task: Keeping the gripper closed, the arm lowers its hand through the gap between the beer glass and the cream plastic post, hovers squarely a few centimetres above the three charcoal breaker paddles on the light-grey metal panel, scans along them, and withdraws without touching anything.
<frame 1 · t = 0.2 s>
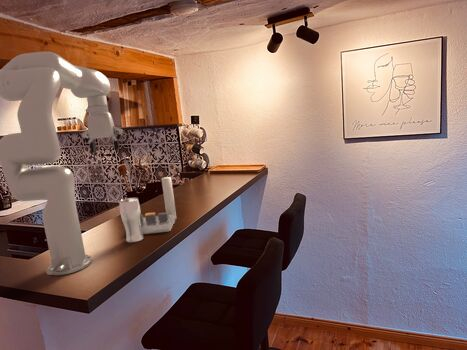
hand: (105, 151, 144), 31 cm above the counter, fingers open, 9 cm apart
breaker panel: (152, 228, 135), on the counter
paddle left: (138, 218, 134), point 5 cm above the counter, hinge at 0.0°
paddle right: (163, 216, 134), point 5 cm above the counter, hinge at 0.0°
paddle mid: (150, 217, 134), point 5 cm above the counter, hinge at 0.0°
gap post: (171, 219, 145), on the counter
beer glass: (135, 239, 125), on the counter
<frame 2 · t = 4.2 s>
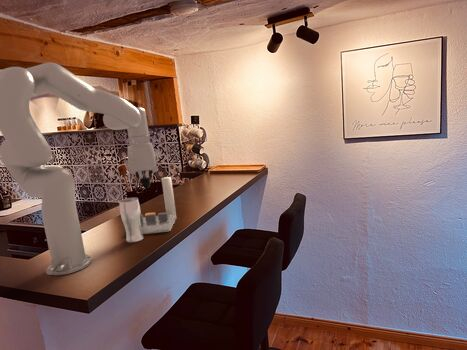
hand: (146, 187, 132), 17 cm above the counter, fingers closed
nothing on the counter moved.
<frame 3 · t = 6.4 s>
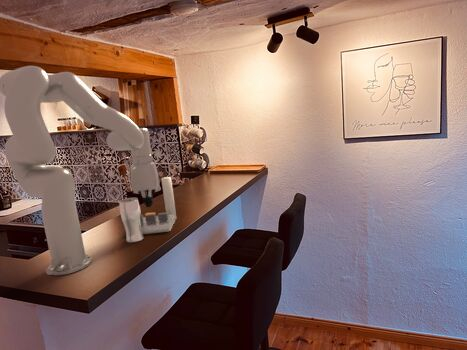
hand: (149, 206, 134), 9 cm above the counter, fingers closed
nothing on the counter moved.
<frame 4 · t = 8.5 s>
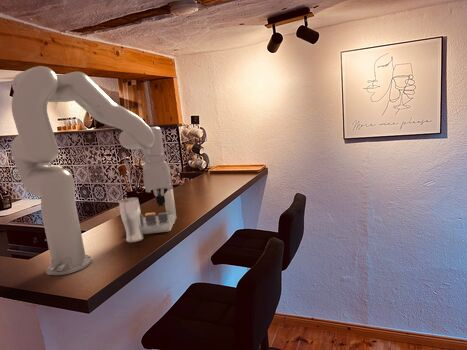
hand: (161, 205, 134), 9 cm above the counter, fingers closed
nothing on the counter moved.
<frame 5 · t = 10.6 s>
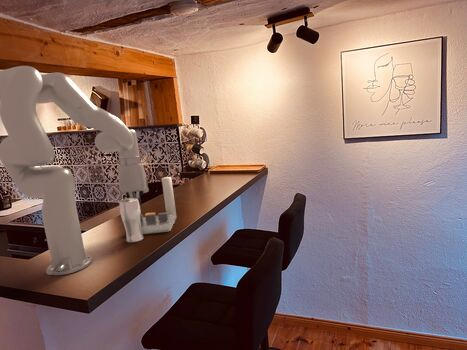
hand: (137, 207, 134), 9 cm above the counter, fingers closed
nothing on the counter moved.
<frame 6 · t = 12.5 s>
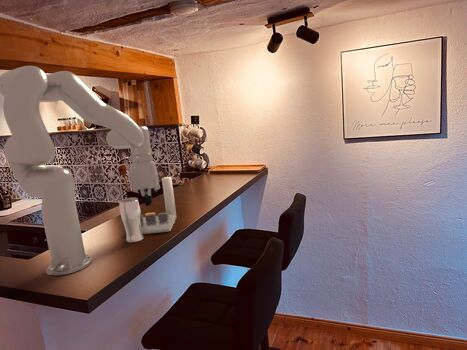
hand: (148, 205, 133), 10 cm above the counter, fingers closed
nothing on the counter moved.
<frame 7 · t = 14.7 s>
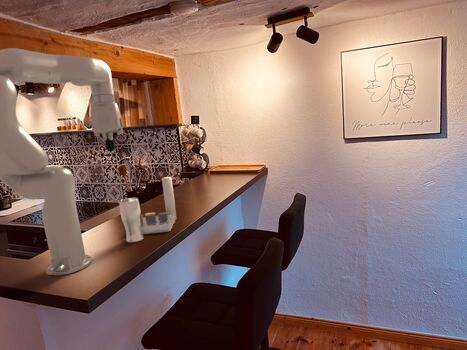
hand: (111, 150, 126), 33 cm above the counter, fingers closed
nothing on the counter moved.
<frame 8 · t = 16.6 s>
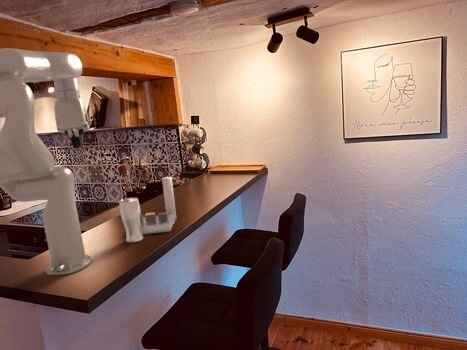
hand: (77, 147, 123), 35 cm above the counter, fingers closed
nothing on the counter moved.
at the end: beer glass moved 0.2 cm from its start; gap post moved 0.0 cm from its start; paddle mid at +0° (first picture: +0°) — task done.
